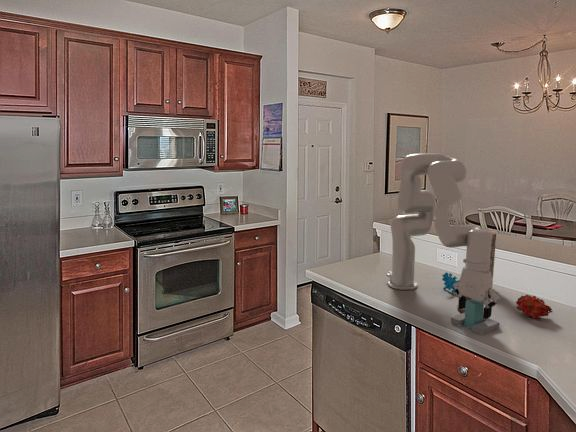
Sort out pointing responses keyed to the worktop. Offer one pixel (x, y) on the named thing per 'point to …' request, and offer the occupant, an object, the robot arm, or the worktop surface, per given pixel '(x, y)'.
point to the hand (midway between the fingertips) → (474, 313)
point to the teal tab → (473, 312)
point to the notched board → (478, 328)
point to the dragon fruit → (533, 306)
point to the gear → (449, 281)
